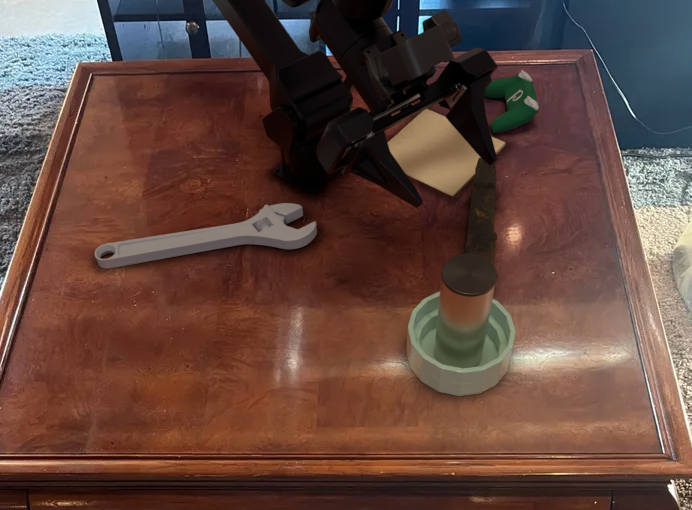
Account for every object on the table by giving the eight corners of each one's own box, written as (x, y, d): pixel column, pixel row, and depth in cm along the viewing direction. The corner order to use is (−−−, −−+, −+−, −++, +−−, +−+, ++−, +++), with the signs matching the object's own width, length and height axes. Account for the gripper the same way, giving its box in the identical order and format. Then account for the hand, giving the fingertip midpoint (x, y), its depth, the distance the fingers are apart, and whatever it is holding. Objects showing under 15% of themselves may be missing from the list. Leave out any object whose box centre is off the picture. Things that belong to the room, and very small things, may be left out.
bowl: (387, 364, 82) (387, 337, 78) (443, 302, 86) (446, 273, 83) (473, 416, 77) (478, 390, 74) (527, 347, 82) (534, 320, 79)
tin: (423, 357, 81) (430, 277, 72) (450, 326, 84) (461, 245, 74) (465, 381, 79) (478, 302, 70) (491, 349, 82) (507, 268, 72)
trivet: (370, 160, 101) (371, 157, 100) (425, 111, 106) (425, 107, 106) (452, 199, 96) (452, 195, 95) (505, 146, 101) (505, 142, 101)
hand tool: (493, 297, 86) (499, 267, 83) (456, 292, 87) (460, 262, 83) (506, 179, 98) (512, 149, 94) (473, 176, 98) (477, 145, 95)
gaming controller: (506, 147, 104) (545, 119, 100) (487, 130, 102) (527, 101, 98) (497, 102, 109) (534, 75, 106) (480, 86, 107) (517, 57, 104)
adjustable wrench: (97, 271, 91) (92, 261, 90) (101, 232, 95) (97, 221, 94) (316, 247, 92) (315, 236, 91) (311, 209, 96) (310, 197, 94)
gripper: (304, 33, 66) (411, 191, 64) (473, -44, 72) (573, 98, 71) (278, 104, 76) (369, 241, 75) (428, 31, 82) (514, 156, 81)
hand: (457, 183), depth 75 cm, fingers open, 9 cm apart
